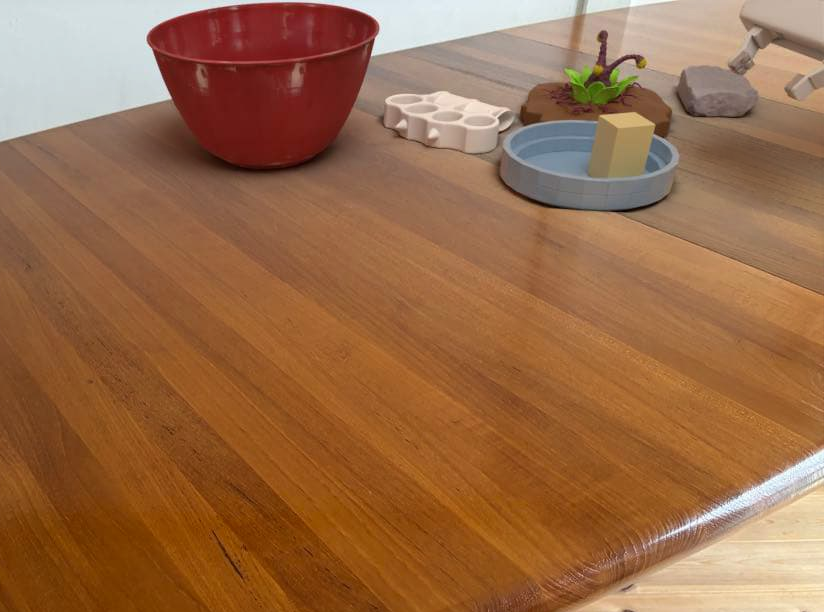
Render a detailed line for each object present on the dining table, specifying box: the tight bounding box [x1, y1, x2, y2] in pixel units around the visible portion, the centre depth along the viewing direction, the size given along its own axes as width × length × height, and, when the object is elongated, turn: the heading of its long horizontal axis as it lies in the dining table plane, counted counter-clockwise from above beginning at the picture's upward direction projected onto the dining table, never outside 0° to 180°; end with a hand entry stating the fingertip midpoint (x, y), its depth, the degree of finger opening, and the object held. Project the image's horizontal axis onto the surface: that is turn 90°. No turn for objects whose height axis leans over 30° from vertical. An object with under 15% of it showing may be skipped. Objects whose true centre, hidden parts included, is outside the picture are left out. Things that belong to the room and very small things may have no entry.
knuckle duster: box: [383, 90, 515, 155], centre depth 112 cm, size 3×18×15 cm
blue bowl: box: [499, 120, 681, 212], centre depth 97 cm, size 20×20×4 cm
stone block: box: [676, 64, 760, 118], centre depth 118 cm, size 12×5×10 cm
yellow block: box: [587, 112, 655, 178], centre depth 95 cm, size 4×4×7 cm
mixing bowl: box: [146, 1, 381, 170], centre depth 105 cm, size 28×28×15 cm
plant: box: [519, 29, 673, 138], centre depth 112 cm, size 20×20×11 cm
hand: (760, 82), depth 86 cm, fingers open, 8 cm apart
